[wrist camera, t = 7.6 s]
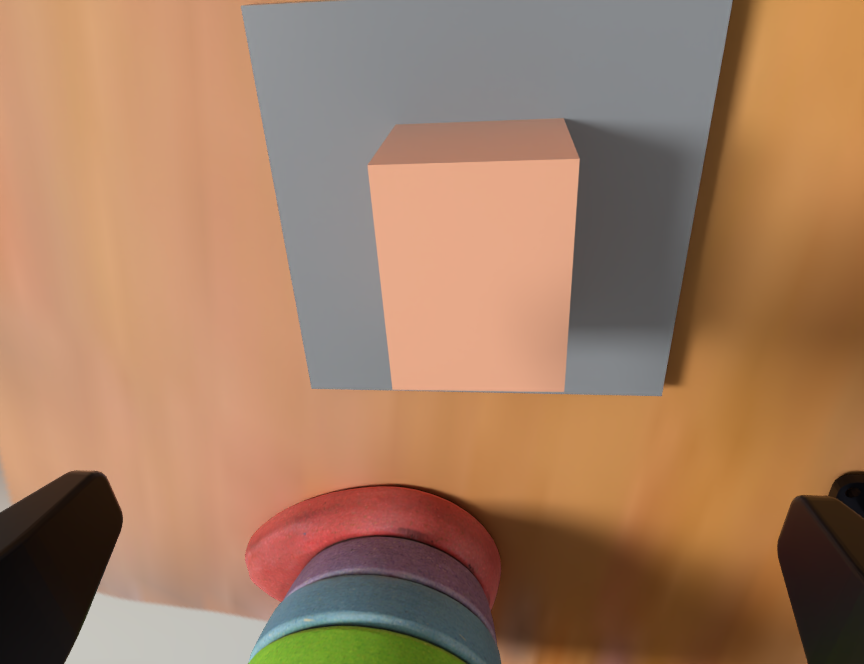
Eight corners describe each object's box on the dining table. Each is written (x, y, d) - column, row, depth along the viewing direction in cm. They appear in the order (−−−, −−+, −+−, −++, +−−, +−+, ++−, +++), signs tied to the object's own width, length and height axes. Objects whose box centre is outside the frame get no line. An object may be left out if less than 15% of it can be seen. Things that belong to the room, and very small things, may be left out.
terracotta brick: (553, 316, 19) (564, 392, 16) (411, 316, 20) (392, 389, 16) (563, 118, 16) (579, 158, 13) (395, 124, 17) (367, 165, 13)
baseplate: (656, 381, 21) (661, 395, 20) (317, 375, 22) (311, 388, 22) (725, -21, 15) (736, -21, 14) (251, 4, 16) (240, 6, 15)
